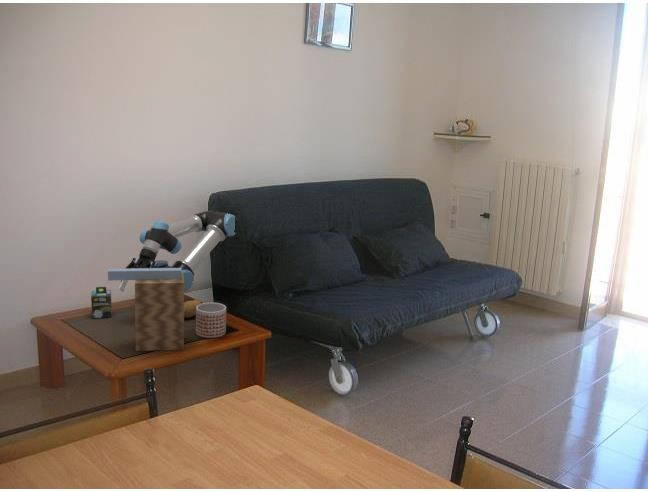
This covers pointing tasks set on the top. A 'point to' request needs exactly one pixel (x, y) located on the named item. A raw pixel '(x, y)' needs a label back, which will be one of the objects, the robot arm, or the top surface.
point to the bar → (144, 274)
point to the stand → (159, 314)
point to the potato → (190, 308)
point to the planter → (211, 320)
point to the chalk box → (101, 303)
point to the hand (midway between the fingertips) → (131, 292)
